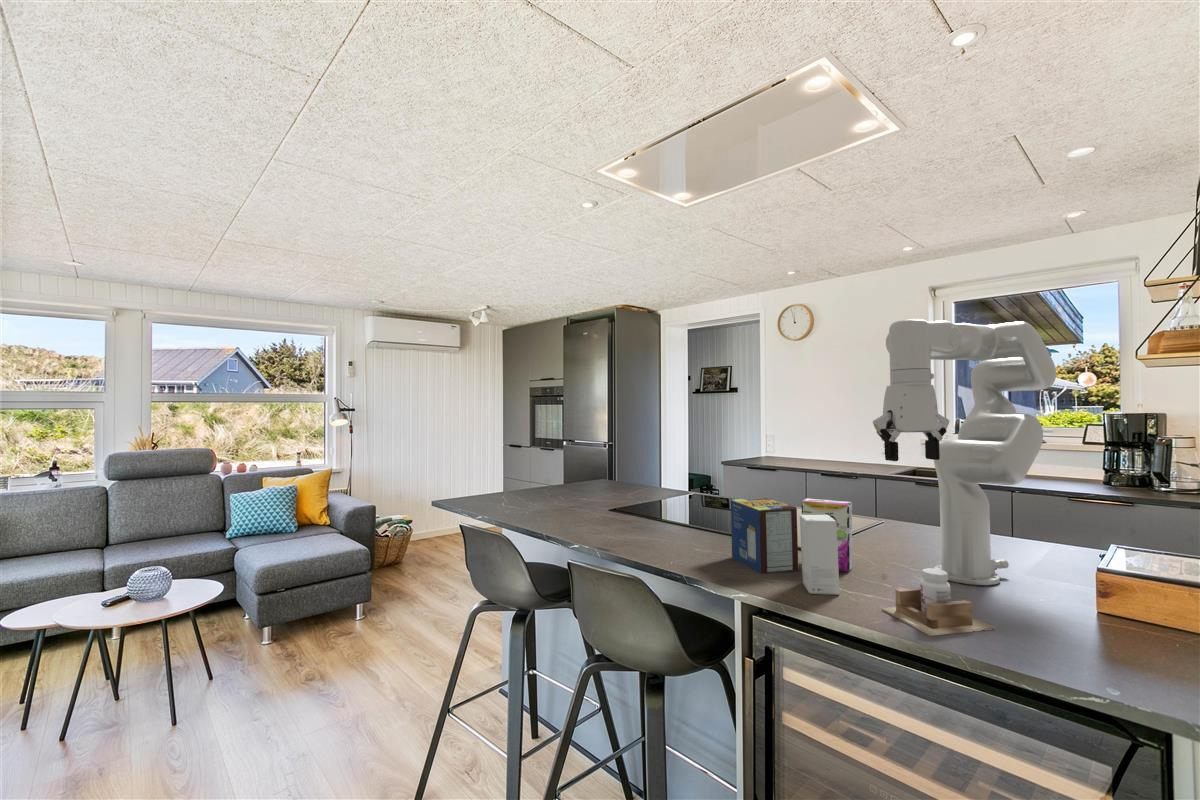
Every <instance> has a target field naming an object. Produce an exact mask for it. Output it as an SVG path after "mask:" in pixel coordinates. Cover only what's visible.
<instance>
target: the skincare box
mask: <svg viewBox="0 0 1200 800" xmlns="http://www.w3.org/2000/svg"><path fill="white" fill-rule="evenodd" d="M799 527H800V528H799V529H800V532H799V533H800V547H801V549H800V550H801V551H800V553H801V572H802V573H801V575H802V583H803V585H804V587H805V589H806V591H807V592H808V593H809V594H812V595H813V594H814V595H833V596H839V595H840V575H839V573H840V571H839V570H838V547H837V525H836V521H835V520H834V519H833V518H831V517H830V516H829V515H802V514H799Z"/></svg>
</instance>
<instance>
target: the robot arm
mask: <svg viewBox="0 0 1200 800" xmlns="http://www.w3.org/2000/svg"><path fill="white" fill-rule="evenodd" d="M885 347H886V351H888V354H889V380H890V381H889V384H890V385H886V388H885V391H884V395H883V397H884V398H883V407H882V415H880V416H878V417H877V418H876V419H874V420H872V424H873V427H874V430H876V434H877V436H879V438H881V439H880V440H881V442H884V459H885V461H889V462H898V461H899V443H898V441H896V440H897V439H898V437H899V436H900V434H901V433H923V435H924V436H925V437H926V439H925V442H924V450H925V452H924V453H925V459H927V460H933V463H934V469H935V471H936V477H937V482H938V483H937V484H938V491H939V493H938V494H939V517H940V518H939V520H940V522H939V524H940V558H941V559H940V561H941V562H940V563H941V564H940V565H935V566H934V567H933V569H939V570H943V571H945V572H947V574H948V582H949V581H950V582H953V583H958V584H963V585H972V586H993V585H997V584H999V583H1000V582H1001V576H1000V575H999V574H998V573H996V570H998V569H1008V568H1009V562H1008V561H1007V560H1006V559H996V560H995V558H992V554H991V552H992V551H991V549H992V548H991V517H990V514H991V513H990V512H991V511H990V510H991V509H990V502H989V499H988V496H987V495H986V492H984V490H983V489H982V487H981V486H980V485H979V484H986V485H987V484H991V485H998V486H1014V485H1017V484H1020V483H1021V482H1022V481H1024V479H1025V477H1026V476H1027V475H1028V472H1029V471H1030V469H1031V467H1032V466H1033V463H1034V461H1035V460H1036V458H1037V456H1038V454H1039V453H1040V451H1041V447H1042V444H1043V440H1044V430H1043V426H1042V424H1041V421H1040V420H1039V419H1038V418H1037V417H1035V416H1034V415H1031V414H1029V413H1025V412H1024V413H1022V412H1016V408H1015V406H1014V404H1013V403H1012V402H1011V400H1009V399H1008V398H1007V397H1006V396H1004V395H1003V394H1002V393H1001V392H1023V391H1025V392H1026V391H1027V392H1029V391H1042V390H1046V389H1048V388H1050V387H1052V385H1053V384H1054V383H1055V381H1056V377H1057V369H1056V365H1055V362H1054V360H1053V358H1052V356H1051V354H1050V352H1049V350H1048V349H1047V346H1046V344H1045V342H1044V340H1043V338H1042V337H1041V335H1040V334H1039V332H1038V331H1037V330H1036V328H1035V327H1034V326H1033V325H1031V324H1030V323H1029V322H1027V321H1020V320H1019V321H1013V322H1004V323H1003V322H1002V323H997V324H995V323H994V324H975V323H966V322H961V323H959V322H958V323H953V322H951V321H949V320H935V321H933V320H931V321H927V320H925V319H921V318H919V319H918V318H917V319H915V318H913V319H912V318H911V319H902V320H901V319H900V320H897V321H895V322H892V323H891V324H890V326H889V329H888V334H886V338H885ZM931 360H933V361H934V360H935V361H936V360H937V361H953V360H954V361H959V360H960V361H963V360H964V361H980V362H978V363H976V364H975V365H974V366H973V367H972V369H971V373H970V385H971V393H972V396H973V400H974V406H973V408H972V409H971V411H970V412H969V413H968V415H967V416H966V418H965V419H964V420H963V422H962V424H961V425H960V427H959V430H958V434H957V438H958V439H952V440H951V439H950V440H945V441H943V442H941V441H942V440H943V437H944V435H946V432H947V429H948V426H949V424H950V419H948V418H947V417H945V416H943V415H941V414H940V413H939V410H938V409H939V408H938V400H937V394H936V391H935V387H934V385H933V384H932V380H934V378H935V374H934V373H932V361H931ZM940 442H941V443H940Z"/></svg>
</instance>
